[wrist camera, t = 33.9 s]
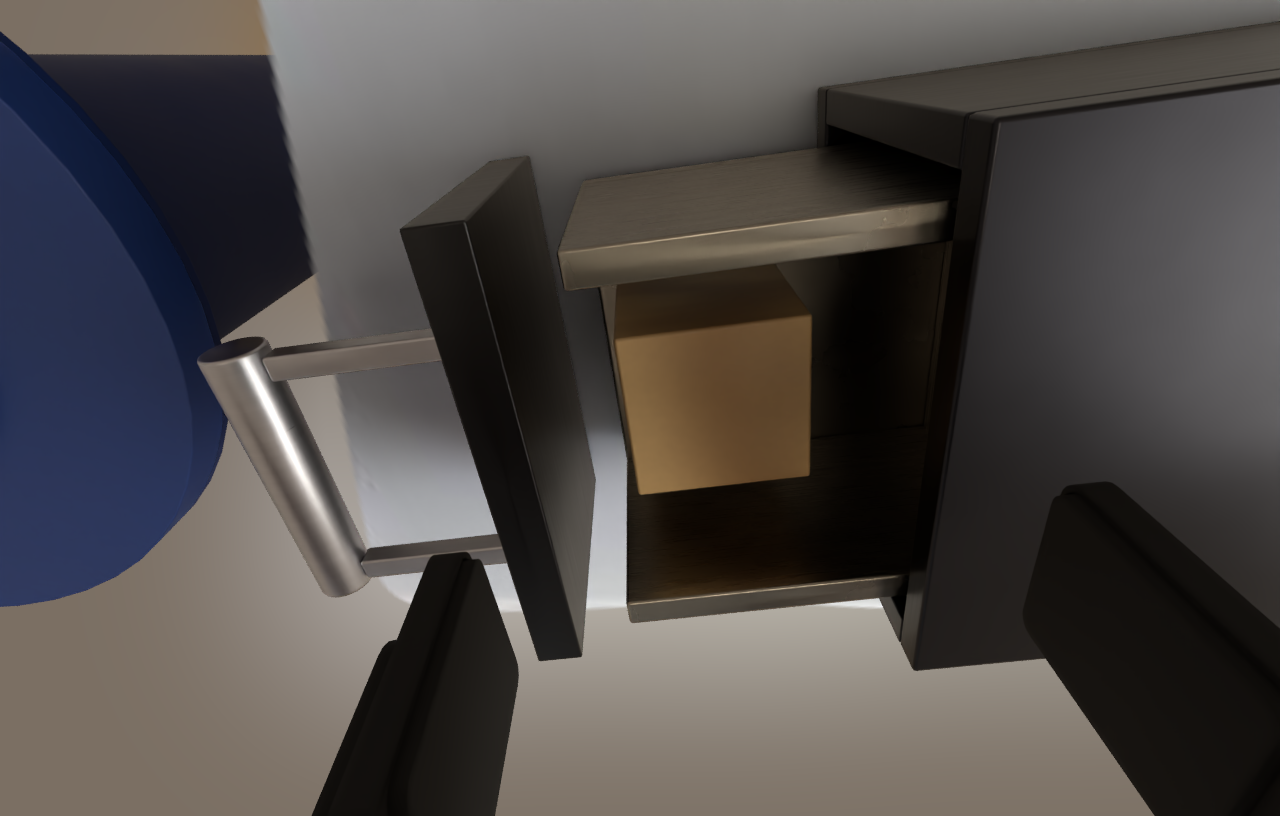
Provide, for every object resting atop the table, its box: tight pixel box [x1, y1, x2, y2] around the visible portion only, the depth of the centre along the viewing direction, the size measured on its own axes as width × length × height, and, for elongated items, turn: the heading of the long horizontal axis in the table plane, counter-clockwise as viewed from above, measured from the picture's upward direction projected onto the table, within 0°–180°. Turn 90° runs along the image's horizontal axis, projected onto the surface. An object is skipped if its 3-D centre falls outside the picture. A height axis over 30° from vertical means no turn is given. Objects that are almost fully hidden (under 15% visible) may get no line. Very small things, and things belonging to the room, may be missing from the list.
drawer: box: [197, 140, 962, 661], centre depth 17 cm, size 19×12×8 cm, turn 97°
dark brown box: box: [817, 21, 1280, 671], centre depth 16 cm, size 15×13×10 cm
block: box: [613, 264, 812, 495], centre depth 17 cm, size 5×5×5 cm
